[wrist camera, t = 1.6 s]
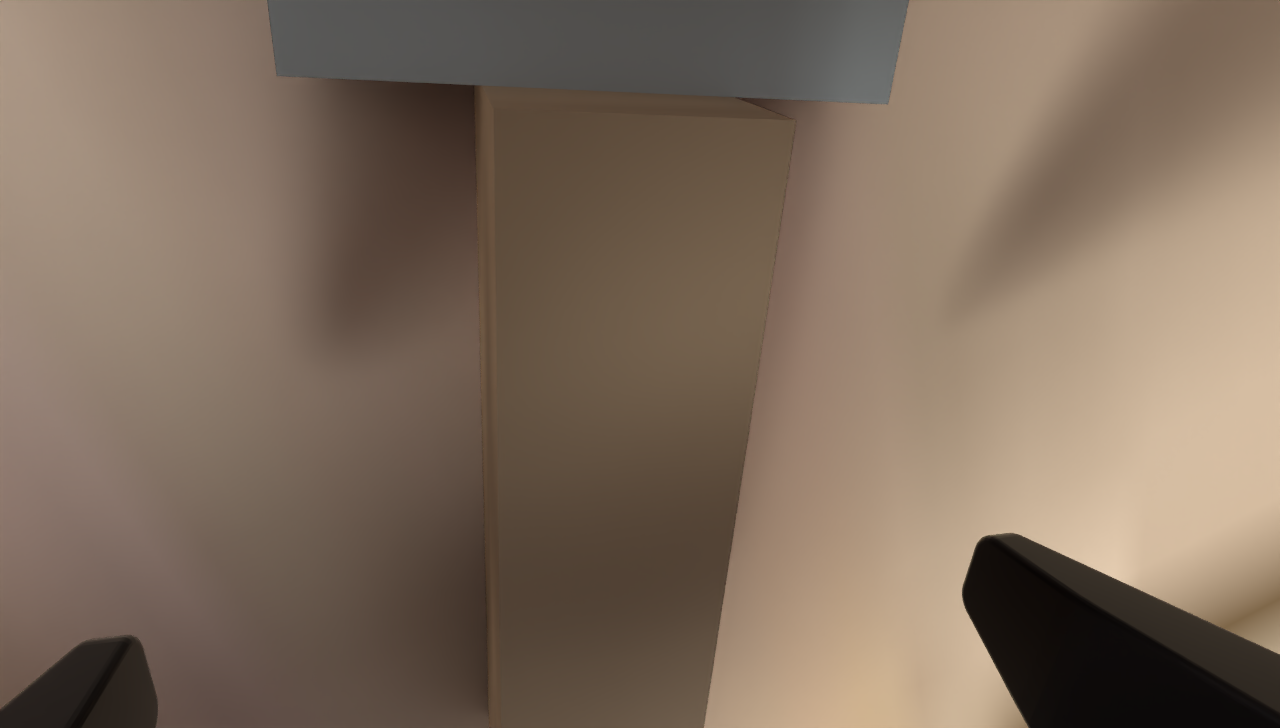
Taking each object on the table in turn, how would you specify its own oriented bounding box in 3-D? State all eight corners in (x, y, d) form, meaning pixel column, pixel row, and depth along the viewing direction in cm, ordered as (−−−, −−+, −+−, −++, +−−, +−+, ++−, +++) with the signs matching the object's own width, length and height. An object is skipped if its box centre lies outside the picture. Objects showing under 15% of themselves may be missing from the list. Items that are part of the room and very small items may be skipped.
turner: (727, 673, 14) (797, 834, 11) (377, 727, 12) (362, 927, 10) (915, -466, 7) (1189, -718, 5) (221, -645, 6) (53, -1158, 3)
